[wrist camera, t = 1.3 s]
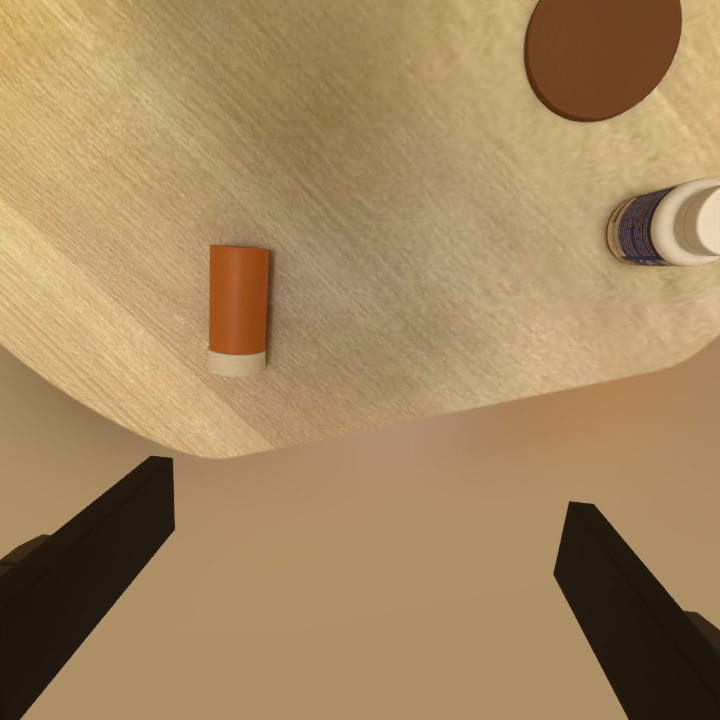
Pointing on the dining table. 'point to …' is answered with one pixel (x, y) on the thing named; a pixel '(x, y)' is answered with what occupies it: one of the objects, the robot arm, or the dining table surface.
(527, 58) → the coaster
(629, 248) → the pill bottle
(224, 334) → the vial
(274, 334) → the dining table surface
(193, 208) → the dining table surface
